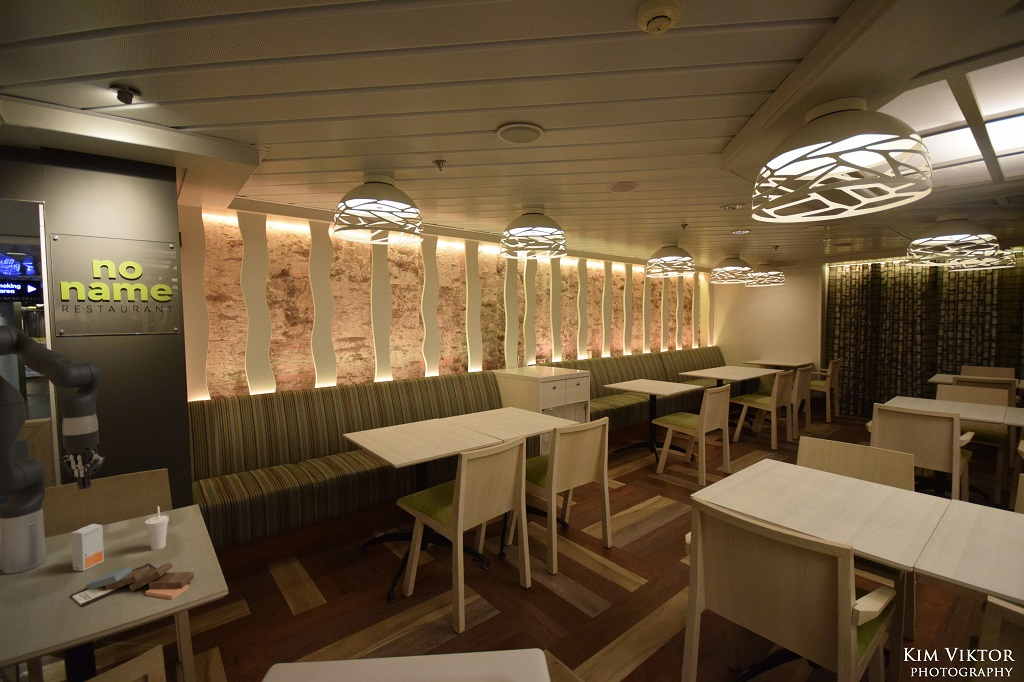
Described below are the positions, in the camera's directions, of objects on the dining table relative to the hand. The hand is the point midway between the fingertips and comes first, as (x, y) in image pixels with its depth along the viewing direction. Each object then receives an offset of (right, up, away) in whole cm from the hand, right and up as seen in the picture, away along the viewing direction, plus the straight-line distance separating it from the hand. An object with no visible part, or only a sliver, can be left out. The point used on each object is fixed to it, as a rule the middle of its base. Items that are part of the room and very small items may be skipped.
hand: (84, 488), depth 132 cm
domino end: (+25, -27, -5) cm, 37 cm away
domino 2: (+12, -26, -3) cm, 29 cm away
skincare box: (-5, -27, +7) cm, 28 cm away
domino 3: (+19, -26, -4) cm, 33 cm away
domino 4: (+24, -25, -4) cm, 35 cm away
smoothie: (+8, -26, +18) cm, 33 cm away
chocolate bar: (+12, -28, -2) cm, 31 cm away
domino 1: (+6, -26, -3) cm, 27 cm away
